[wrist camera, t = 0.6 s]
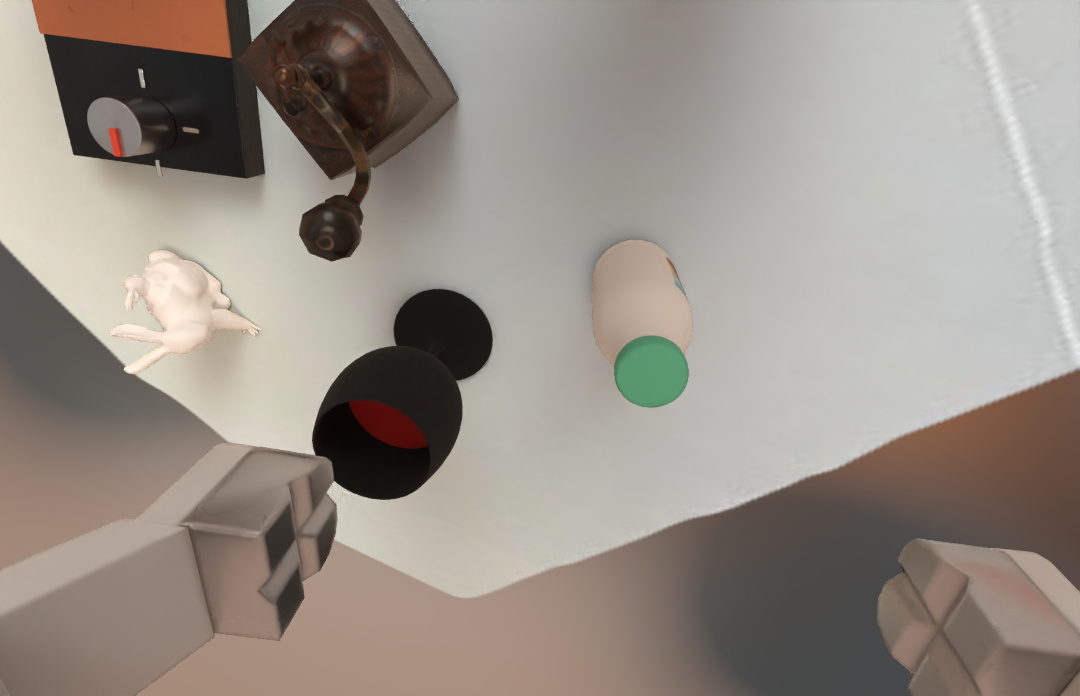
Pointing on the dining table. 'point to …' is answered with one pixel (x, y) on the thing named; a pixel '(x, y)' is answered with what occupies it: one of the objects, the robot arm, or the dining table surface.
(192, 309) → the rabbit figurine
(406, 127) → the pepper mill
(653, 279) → the milk bottle
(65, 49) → the plate
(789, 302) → the dining table surface
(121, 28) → the heating pad
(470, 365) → the wine glass
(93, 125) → the hob knob
